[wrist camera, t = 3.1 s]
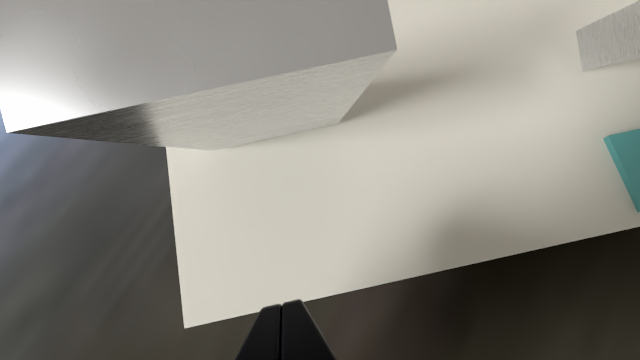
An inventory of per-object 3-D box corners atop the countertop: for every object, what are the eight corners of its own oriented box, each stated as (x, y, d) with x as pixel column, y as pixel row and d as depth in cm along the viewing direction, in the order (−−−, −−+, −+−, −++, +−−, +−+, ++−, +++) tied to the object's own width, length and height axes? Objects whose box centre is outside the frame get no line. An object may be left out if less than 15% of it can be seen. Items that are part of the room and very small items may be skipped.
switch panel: (754, 200, 16) (837, 182, 13) (207, 322, 16) (181, 329, 13) (614, -48, 20) (656, -100, 17) (174, 44, 20) (149, 6, 17)
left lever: (337, 123, 15) (397, 50, 5) (212, 150, 15) (7, 132, 5) (328, 83, 15) (371, -79, 5) (203, 110, 15) (-28, 3, 5)
